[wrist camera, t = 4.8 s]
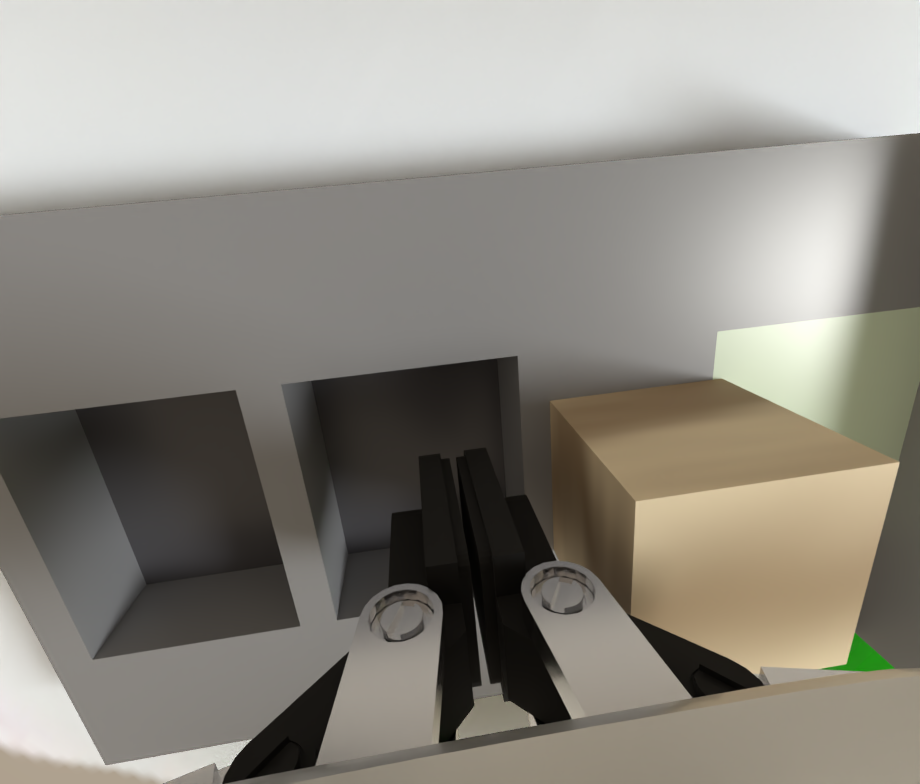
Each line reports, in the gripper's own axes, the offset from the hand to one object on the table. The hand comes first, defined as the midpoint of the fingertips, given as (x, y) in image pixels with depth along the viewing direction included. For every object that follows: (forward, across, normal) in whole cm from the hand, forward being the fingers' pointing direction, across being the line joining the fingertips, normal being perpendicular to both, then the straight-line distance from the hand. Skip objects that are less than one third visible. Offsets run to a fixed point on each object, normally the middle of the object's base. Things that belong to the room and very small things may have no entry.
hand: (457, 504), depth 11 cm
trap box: (+4, -1, 0) cm, 4 cm away
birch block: (+1, -5, 0) cm, 5 cm away
